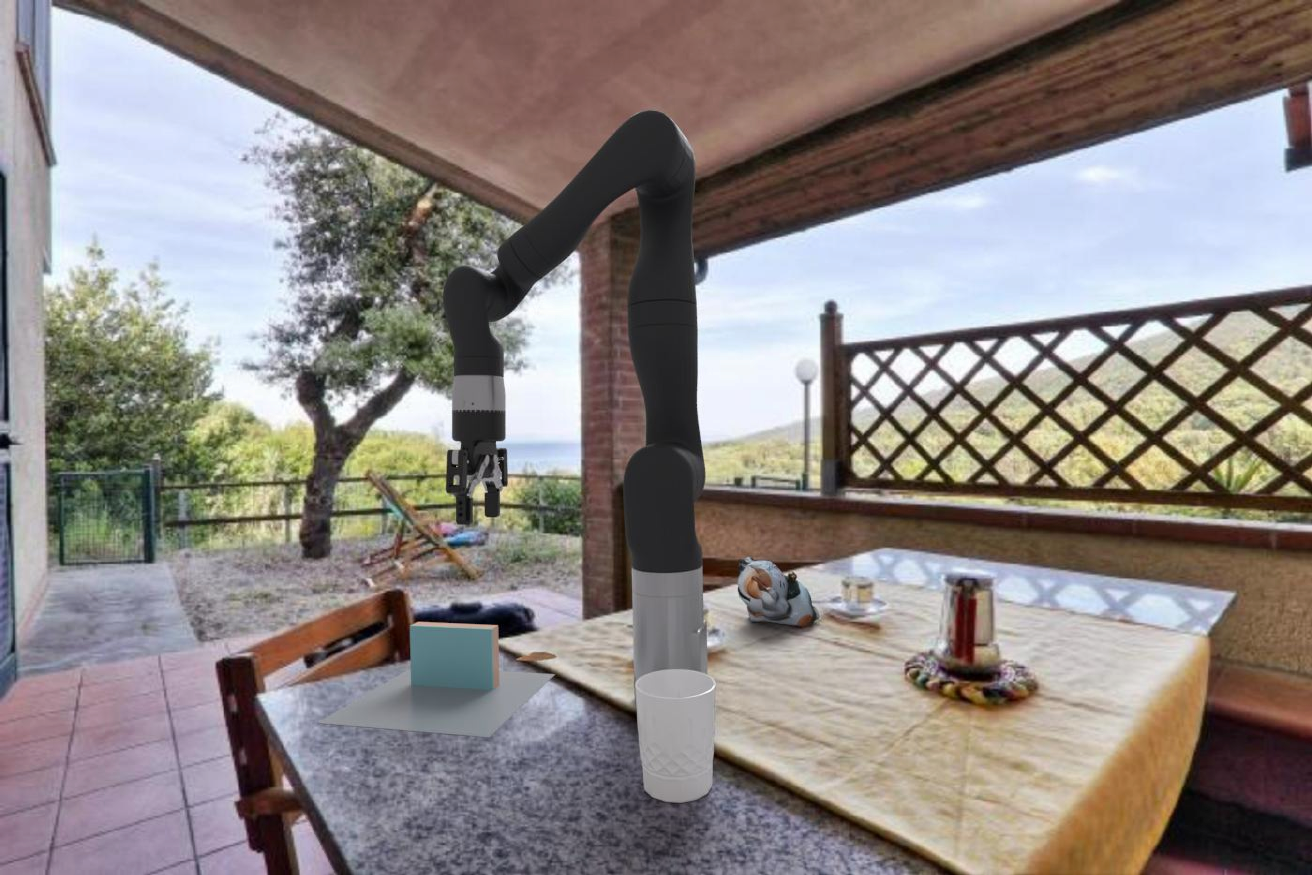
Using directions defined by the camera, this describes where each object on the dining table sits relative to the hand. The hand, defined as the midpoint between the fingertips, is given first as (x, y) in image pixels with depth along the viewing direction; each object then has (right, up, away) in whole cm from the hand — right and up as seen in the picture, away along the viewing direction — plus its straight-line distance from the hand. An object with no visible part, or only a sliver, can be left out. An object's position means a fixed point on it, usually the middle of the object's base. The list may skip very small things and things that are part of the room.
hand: (479, 520), depth 97 cm
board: (-1, -23, -11) cm, 25 cm away
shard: (+10, -23, +5) cm, 26 cm away
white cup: (+28, -22, -32) cm, 47 cm away
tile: (-1, -21, -7) cm, 22 cm away
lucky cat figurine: (+48, -22, +25) cm, 58 cm away
